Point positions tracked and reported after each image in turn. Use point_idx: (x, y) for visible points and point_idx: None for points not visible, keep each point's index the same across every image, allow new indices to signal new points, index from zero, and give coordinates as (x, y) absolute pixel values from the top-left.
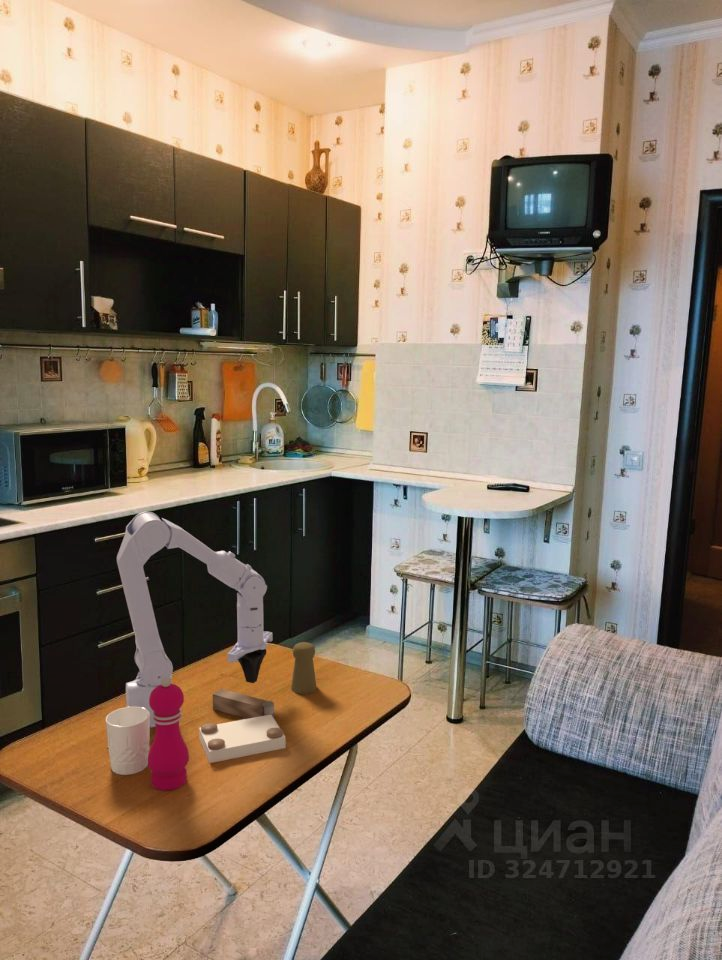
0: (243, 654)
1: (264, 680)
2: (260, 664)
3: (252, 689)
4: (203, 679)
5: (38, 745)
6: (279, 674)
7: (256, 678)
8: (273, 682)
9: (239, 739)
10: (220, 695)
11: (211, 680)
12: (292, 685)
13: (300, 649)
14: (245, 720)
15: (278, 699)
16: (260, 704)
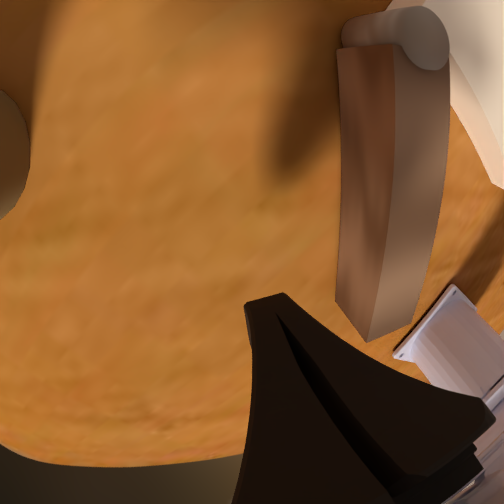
0: (487, 460)
1: (70, 344)
2: (268, 402)
3: (157, 322)
4: (224, 427)
5: None
6: (2, 338)
7: (264, 311)
8: (47, 310)
9: None
10: (414, 298)
11: (214, 419)
12: (8, 190)
13: None
14: (481, 93)
15: (139, 154)
16: (435, 82)
